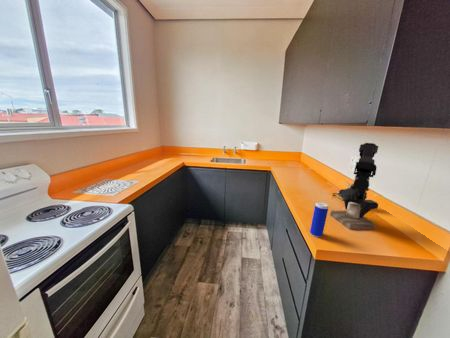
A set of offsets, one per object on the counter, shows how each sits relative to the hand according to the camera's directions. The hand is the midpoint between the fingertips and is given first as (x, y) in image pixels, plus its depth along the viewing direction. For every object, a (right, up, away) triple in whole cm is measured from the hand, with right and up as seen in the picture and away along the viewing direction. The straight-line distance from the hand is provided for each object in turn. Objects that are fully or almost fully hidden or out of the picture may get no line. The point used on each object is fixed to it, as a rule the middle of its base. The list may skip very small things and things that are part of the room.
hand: (353, 213), depth 95 cm
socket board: (0, -5, +1) cm, 5 cm away
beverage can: (-26, -7, -12) cm, 30 cm away
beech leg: (0, -5, +1) cm, 5 cm away
